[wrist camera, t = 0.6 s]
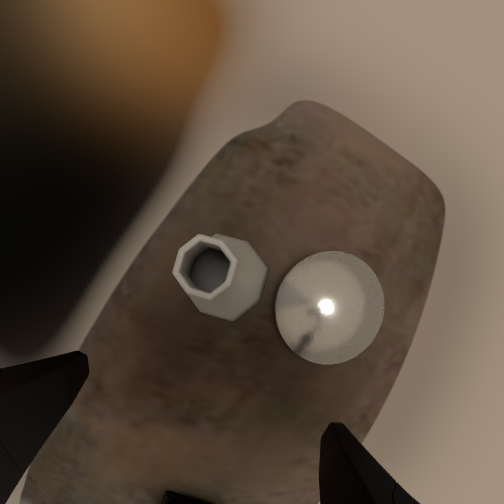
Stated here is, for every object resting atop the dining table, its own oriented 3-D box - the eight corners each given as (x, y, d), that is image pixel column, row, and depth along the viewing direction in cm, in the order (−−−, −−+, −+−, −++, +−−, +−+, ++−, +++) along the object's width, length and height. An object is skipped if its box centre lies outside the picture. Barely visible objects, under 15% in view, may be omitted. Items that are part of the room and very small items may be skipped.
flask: (283, 265, 24) (306, 246, 14) (236, 336, 23) (224, 367, 13) (214, 219, 24) (189, 172, 14) (167, 287, 23) (113, 284, 13)
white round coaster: (355, 366, 22) (365, 373, 20) (259, 343, 23) (260, 349, 20) (382, 271, 23) (394, 268, 21) (290, 242, 24) (294, 236, 21)
